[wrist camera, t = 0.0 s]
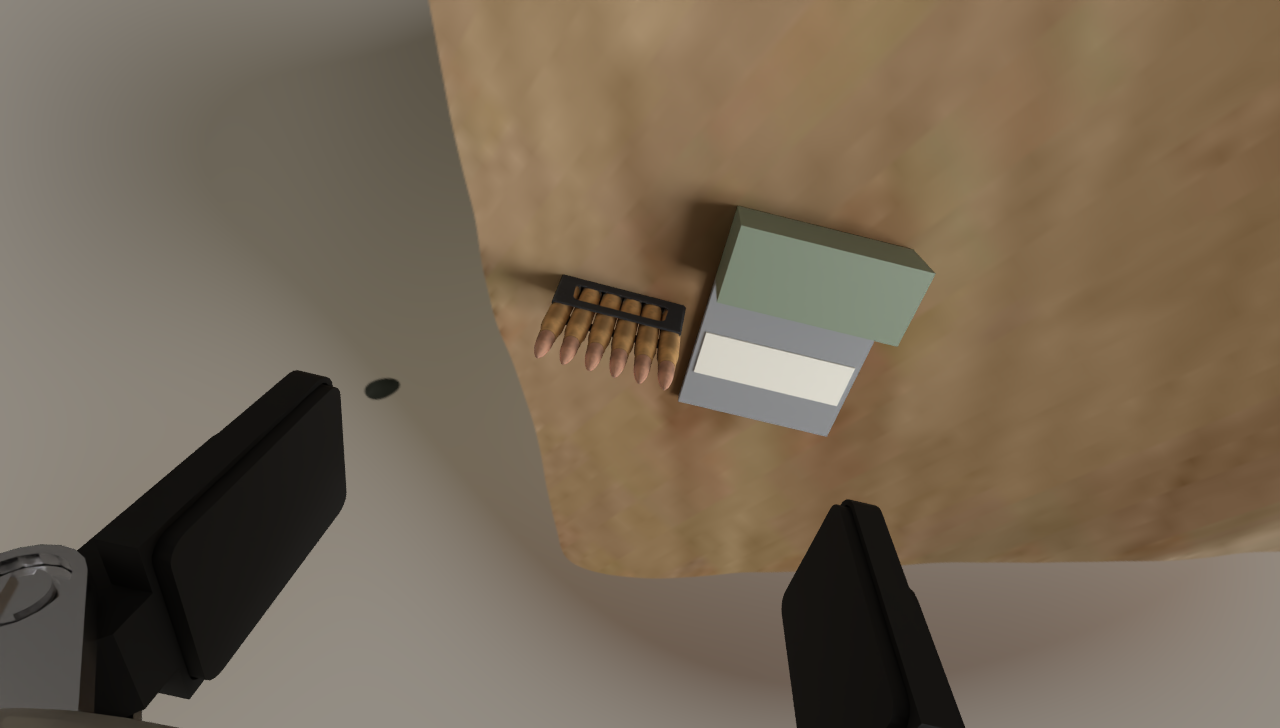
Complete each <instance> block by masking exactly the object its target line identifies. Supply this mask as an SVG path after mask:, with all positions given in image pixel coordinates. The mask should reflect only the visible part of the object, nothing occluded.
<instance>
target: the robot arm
mask: <svg viewBox="0 0 1280 728" xmlns="http://www.w3.org/2000/svg"><path fill="white" fill-rule="evenodd" d="M340 398H341V397H340V391H339V389H338V388H336V387H333V385H332V381H331V380H330V378H327V377H324V376H320V375H316V374H311V373H307V372H303V371H298V370H296V371H293V372H291V373H289V374H288V375H287V376H286V377H284V378H283V379H282V380H281V381H279V382H278V383H277V384H276V385H275V386H274V387H273V388H271V389H270V390H269V391H268V392H266V393H265V394H264V395H263V396H262V397H261V398H259V399H258V400H257V401H256V402H255V403H254V404H252V405H251V406H250V407H249V408H248V409H246V410H245V411H244V412H243V413H242V414H241V415H239V416H238V417H237V418H236V419H235V420H233V421H232V422H231V423H230V424H229V425H228V426H226V427H225V428H224V429H223V430H222V431H220V432H219V433H218V434H216V435H215V436H213V437H211V438H210V439H209V440H208V441H207V442H205V443H204V444H203V445H202V446H201V447H199V448H198V449H197V450H196V451H195V452H194V453H192V454H191V455H190V456H189V457H188V458H186V459H185V460H184V461H183V462H182V463H181V464H179V465H178V466H177V467H176V468H175V469H174V470H172V471H171V472H170V473H169V474H167V475H166V476H165V477H164V478H163V479H162V480H160V481H159V482H158V483H157V484H156V485H154V486H153V487H152V488H151V489H150V490H149V491H147V492H146V493H145V494H144V495H143V496H142V497H140V498H139V499H138V500H137V501H135V503H133V504H132V505H131V506H130V507H128V508H127V509H126V510H125V511H124V512H122V513H121V514H120V515H119V516H118V517H116V518H115V519H114V520H113V521H112V522H111V523H109V524H108V525H107V526H106V527H105V528H104V529H102V530H101V531H100V532H99V533H98V534H96V535H95V536H94V537H93V538H92V539H90V540H89V541H88V542H87V543H86V544H84V545H83V546H82V547H81V548H80V549H78V550H77V551H76V550H75V549H72V548H69V547H65V546H62V545H44V544H40V545H34V546H27V547H20V548H17V549H13V550H10V551H7V552H3V553H0V728H177V727H171V726H166V725H161V724H156V723H150V722H145V721H142V710H144V709H145V708H146V707H147V706H148V705H149V703H150V702H151V701H152V700H153V698H154V697H155V696H156V695H157V693H162V694H167V695H172V696H176V697H180V698H185V699H190V698H191V697H192V695H193V694H194V693H195V691H196V690H197V689H198V687H199V686H200V685H201V683H202V682H203V681H204V680H212V679H214V678H215V677H216V676H217V675H219V673H220V672H221V671H222V670H223V669H224V667H225V666H226V665H227V663H228V662H229V661H230V659H231V658H232V657H233V655H234V654H235V653H236V651H237V650H238V649H239V647H240V646H241V644H242V643H243V642H244V640H245V639H246V638H247V636H248V635H249V634H250V632H251V631H252V630H253V628H254V627H255V626H256V624H257V623H258V622H259V620H260V619H261V618H262V616H263V615H264V613H265V612H266V610H267V609H268V608H269V607H270V605H271V604H272V603H273V601H274V600H275V599H276V597H277V596H278V595H279V593H280V592H281V591H282V589H283V588H284V587H285V585H286V584H287V583H288V581H289V580H290V578H291V577H292V576H293V574H294V573H295V572H296V570H297V569H298V568H299V566H300V565H301V564H302V562H303V561H304V560H305V558H306V557H307V555H308V554H309V553H310V552H311V550H312V549H313V548H314V546H315V545H316V544H317V542H318V541H319V539H320V538H321V537H322V535H323V534H324V533H325V531H326V530H327V529H328V527H329V526H330V525H331V523H332V522H333V521H334V519H335V518H336V516H337V515H338V514H339V512H340V511H341V509H342V507H343V505H344V502H345V499H346V478H345V462H344V445H343V430H342V414H341V399H340ZM782 619H783V626H784V634H785V642H786V649H787V656H788V664H789V671H790V679H791V686H792V694H793V702H794V709H795V717H796V724H797V728H965V726H964V723H963V721H962V718H961V715H960V712H959V710H958V707H957V704H956V702H955V699H954V696H953V694H952V691H951V688H950V686H949V683H948V680H947V677H946V675H945V672H944V669H943V667H942V664H941V661H940V659H939V656H938V653H937V650H936V648H935V645H934V642H933V640H932V637H931V634H930V632H929V629H928V626H927V624H926V621H925V618H924V615H923V613H922V610H921V607H920V605H919V602H918V600H917V598H916V596H915V594H914V592H913V591H912V590H911V589H910V588H909V586H908V583H907V580H906V578H905V575H904V573H903V569H902V567H901V564H900V561H899V558H898V556H897V553H896V550H895V547H894V545H893V542H892V539H891V536H890V534H889V531H888V528H887V525H886V523H885V520H884V517H883V514H882V512H881V510H880V508H879V507H877V506H875V505H870V504H866V503H862V502H858V501H853V500H845V501H843V502H842V504H841V505H833V506H832V507H831V509H830V510H829V512H828V514H827V516H826V518H825V520H824V521H823V523H822V525H821V527H820V529H819V531H818V532H817V534H816V536H815V538H814V540H813V542H812V544H811V545H810V547H809V549H808V551H807V553H806V555H805V556H804V558H803V560H802V562H801V564H800V566H799V567H798V569H797V571H796V573H795V575H794V577H793V578H792V580H791V582H790V584H789V586H788V588H787V589H786V591H785V593H784V596H783V600H782Z"/></svg>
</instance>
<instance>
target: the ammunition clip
mask: <svg viewBox="0 0 1280 728" xmlns="http://www.w3.org/2000/svg"><path fill="white" fill-rule="evenodd" d="M573 307H575V308H574V311H573V313H572V315H571V317H570V314H571V312H572V310H573ZM685 310H686V307H685V306H684V305H680V304H676V303H672V302H668V301H664V300H660V299H656V298H653V297H649V296H645V295H641V294H637V293H633V292H629V291H625V290H622V289H618V288H614V287H610V286H606V285H602V284H598V283H595V282H591V281H587V280H583V279H579V278H575V277H571V276H567V275H563V276H562V278H561V280H560V283H559V285H558V287H557V290H556V292H555V295H554V297H553V300H552V304H551V306H550V308H549V310H548V312H547V313H546V315H545V317H544V319H543V321H542V324H541V330H540V332H539V335H538V337H537V340H536V343H535V347H534V354H535V357H536V358H540V357H542V356H544V355H545V354H546V353H547V352H548V351H549V350H550V348H551V347H552V345H553V343H554V342H555V340H556V338H557V337H558V336H559V335H560V334H561V333H562V331H563V329H564V327H565V325H567V326H566V329H565V336H564V339H563V343H562V346H561V349H560V361H561V364H563V365H565V364H567V363H568V362H570V361H571V360H572V359H573V357H574V356H575V354H576V353H577V350H578V348H579V347H580V345H581V343H582V342H583V341H584V340H585V338H586V335H587V333H588V331H590V333H589V337H588V346H587V351H586V355H585V366H586V369H587V370H588V371H592V370H593V369H594V368H595V367H596V366H597V365H598V364H599V362H600V360H601V358H602V356H603V353H604V351H605V349H606V348H607V346H608V345H609V343H610V340H611V337H613V338H612V342H611V349H612V350H611V357H610V373H611V375H612V377H614V378H615V377H617V376H618V375H619V374H620V373H621V372H622V371H623V369H624V367H625V364H626V362H627V359H628V356H629V354H630V352H631V350H632V348H633V345H634V343H635V347H634V354H635V360H634V376H635V380H636V382H637V383H638V384H641V383H642V382H643V381H644V380H645V379H646V377H647V375H648V373H649V371H650V367H651V364H652V360H653V358H654V356H655V354H656V348H658V351H657V360H658V381H659V384H660V387H661V388H662V389H663V390H666V389H667V388H668V387H669V386H670V384H671V382H672V380H673V377H674V371H675V367H676V363H677V361H678V358H679V347H680V335H681V331H682V326H683V320H684V315H685ZM595 312H596V313H597V314H596V317H595V319H594V322H593V324H591V323H592V320H593V317H594V315H595ZM617 318H618V320H617ZM616 320H617V324H616V327H615V323H616ZM638 323H639V327H638ZM614 327H615V330H614ZM637 327H638V332H637V335H636V331H637ZM659 329H660V335H659ZM658 335H659V339H658Z"/></svg>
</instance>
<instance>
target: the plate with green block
mask: <svg viewBox="0 0 1280 728" xmlns="http://www.w3.org/2000/svg"><path fill="white" fill-rule="evenodd" d="M934 276H935V273H934V271H933V270H932V269H931V268H930V267H929V266H928V265H927V264H926V263H925V262H924V261H923V260H922V258H921V257H920V256H919V255H918V254H917V253H916V252H915V251H914V250H913V249H909V248H905V247H901V246H897V245H893V244H889V243H885V242H881V241H877V240H873V239H869V238H865V237H861V236H857V235H853V234H849V233H845V232H841V231H837V230H833V229H829V228H825V227H821V226H817V225H813V224H809V223H805V222H801V221H797V220H793V219H789V218H785V217H781V216H777V215H773V214H769V213H765V212H761V211H757V210H753V209H749V208H745V207H741V206H737V210H736V213H735V216H734V219H733V222H732V226H731V229H730V232H729V235H728V239H727V242H726V245H725V248H724V251H723V255H722V258H721V261H720V264H719V267H718V271H717V274H716V277H715V280H714V284H713V287H712V290H711V293H710V296H709V300H708V303H707V306H706V309H705V312H704V316H703V319H702V322H701V325H700V329H699V332H698V335H697V338H696V341H695V345H694V348H693V351H692V354H691V357H690V361H689V364H688V367H687V370H686V374H685V377H684V380H683V383H682V386H681V390H680V393H679V399H678V401H679V402H683V403H688V404H692V405H696V406H700V407H704V408H709V409H713V410H717V411H721V412H725V413H730V414H734V415H738V416H742V417H746V418H751V419H755V420H759V421H763V422H767V423H772V424H776V425H780V426H784V427H788V428H792V429H797V430H801V431H805V432H809V433H813V434H818V435H822V436H826V437H827V435H828V433H829V431H830V429H831V427H832V425H833V423H834V421H835V419H836V417H837V415H838V413H839V411H840V409H841V407H842V405H843V403H844V401H845V399H846V397H847V395H848V393H849V391H850V389H851V387H852V385H853V383H854V381H855V379H856V377H857V375H858V373H859V371H860V369H861V367H862V365H863V363H864V361H865V359H866V357H867V355H868V353H869V351H870V349H871V347H872V345H873V343H874V341H877V342H881V343H885V344H889V345H893V346H898V345H899V343H900V341H901V339H902V337H903V335H904V333H905V331H906V329H907V327H908V325H909V324H910V322H911V320H912V318H913V316H914V314H915V312H916V310H917V308H918V306H919V304H920V303H921V301H922V299H923V297H924V295H925V293H926V291H927V289H928V287H929V285H930V283H931V282H932V280H933V278H934Z"/></svg>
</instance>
